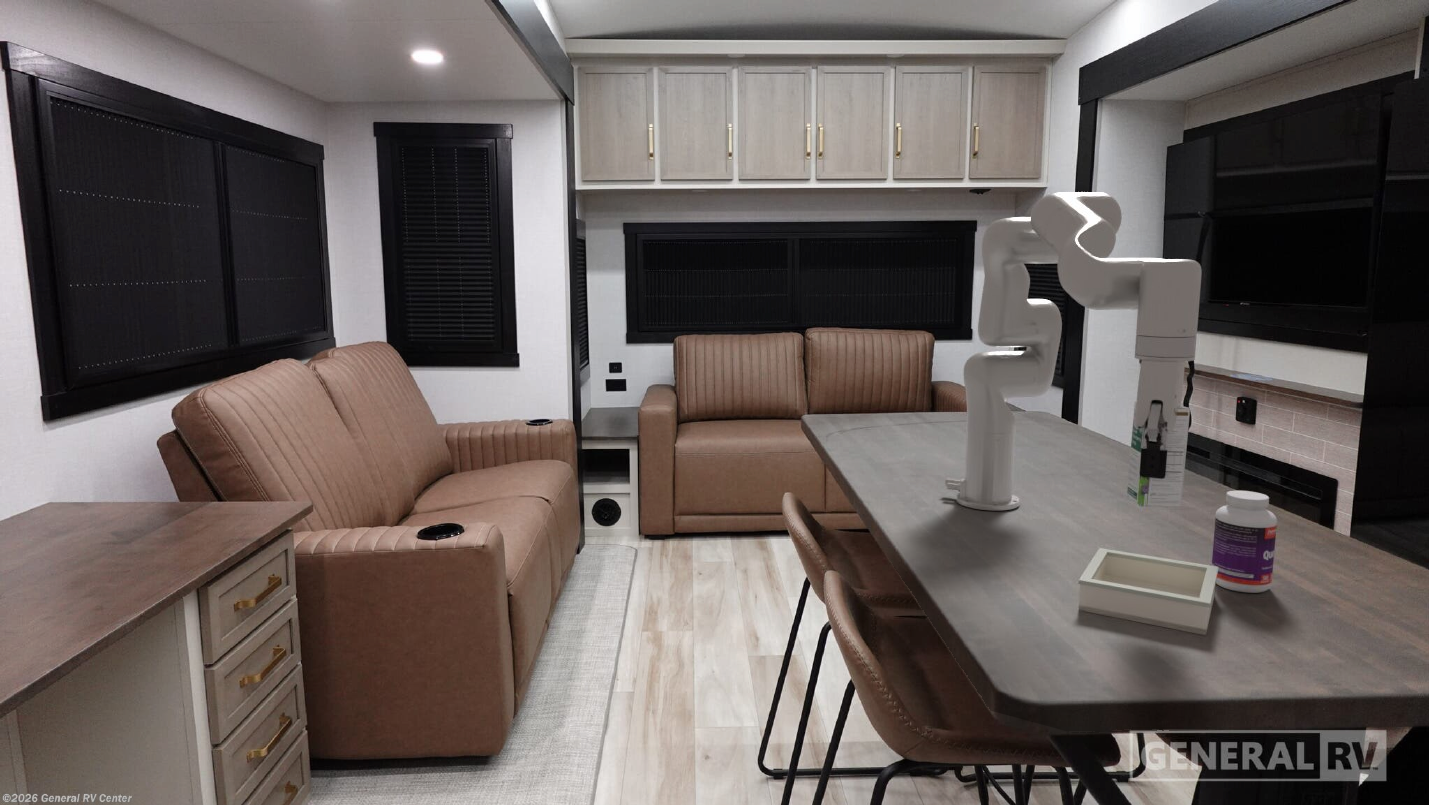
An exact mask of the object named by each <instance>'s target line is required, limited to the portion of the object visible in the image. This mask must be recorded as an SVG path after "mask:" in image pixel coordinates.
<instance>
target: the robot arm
mask: <svg viewBox="0 0 1429 805" xmlns="http://www.w3.org/2000/svg"><path fill="white" fill-rule="evenodd" d="M1122 214H1123V213H1122V209H1121V206H1120V205H1119V203H1118V201H1117V200H1116V199H1115V198H1114V197H1113V196H1112V195H1110V194H1108V193H1105V192H1098V191H1097V192H1094V191H1093V192H1088V191H1087V192H1085V191H1084V192H1083V191H1081V192H1079V191H1078V192H1075V191H1073V192H1071V191H1070V192H1069V191H1068V192H1067V191H1066V192H1063V191H1062V192H1055V193H1050V194H1046V195H1045V196H1043V197H1041V198H1040V199H1039V200H1038V201H1037V202H1036V203H1034V205H1033V207H1032V209H1031V212H1030V216H1018V217H1014V216H1013V217H1006V218H1001V219H997V220H994V221H993V222H992V223H990V224H989V225H988V227H987V228H986V230H985V231H984V234H983V236H982V241H981V257H982V258H981V259H982V263H983V270H984V271H983V274H984V280H983V286H982V293H981V295H982V296H981V299H980V300H981V301H980V310H979V315H978V322H977V323H978V324H977V333H978V337H979V338H978V339H979V340H980V341H981V343H983V345H985V346H988V347H993V348H1026V350H998V351H997V350H993V351H991V350H990V351H983V352H978V353H975V354H973V355H971V356H970V357H969V358H967V360H966V362H965V364H964V366H963V381H964V382H963V383H964V389H965V398H966V433H965V434H966V438H965V463H964V464H965V465H964V466H965V467H964V478H961V479H955V478H949V477H946V479H945V481H944V483H945V484H944V486H945V487H946V489H947V490H952V491H954V490H955V491H957V492H958V493H957V494H956V499H955V500H956V502H957V503H958V504H960V505H961V506H964V507H966V508H968V509H969V508H970V509H973V510H981V511H992V512H993V511H994V512H995V511H996V512H997V511H998V512H999V511H1008V510H1009V511H1010V510H1013V509H1016V508H1018V507H1020V504H1021V500H1020V498H1019V497H1018V496H1017V495H1014V494H1013V488H1014V486H1013V485H1014V484H1013V483H1014V467H1015V466H1014V462H1015V461H1014V460H1015V444H1016V443H1015V441H1016V439H1015V438H1016V419H1015V416H1014V415H1015V414H1014V413H1013V412H1012V410H1011V408H1009V405H1007V403H1006V401H1005V399H1012V398H1035V397H1036V398H1037V397H1041V396H1043V395H1045V394H1046V393H1047V392H1049V390H1050V388H1051V386H1052V383H1053V379H1054V376H1055V369H1056V365H1057V358H1058V352H1059V350H1060V348H1059V347H1060V343H1061V336H1062V329H1063V328H1062V326H1063V322H1062V316H1061V312H1060V310H1059V307H1058V306H1057V305H1056V304H1055V303H1054V302H1053V301H1051V300H1050V299H1049V300H1048V299H1044V298H1029V291H1030V290H1029V289H1030V287H1031V286H1030V285H1031V277H1030V273H1029V272H1028V269H1027V267H1026V265H1025V264H1032V265H1033V264H1035V265H1038V264H1039V265H1041V264H1043V265H1045V264H1046V265H1047V264H1057V275H1058V280H1059V283H1060V285H1061V287H1062V289H1063V290H1064V291H1065V292H1066V293H1067V294H1068V295H1069V296H1070V297H1071V298H1072V299H1073V300H1075V301H1076V303H1078V304H1079V305H1081V306H1083V307H1085V308H1087V309H1091V310H1095V311H1107V310H1108V311H1109V310H1112V311H1114V310H1137V314H1136V316H1137V317H1136V329H1135V330H1136V332H1135V334H1136V335H1135V343H1134V344H1135V346H1134V347H1135V348H1134V349H1135V350H1134V358H1135V359H1136V360H1141V363H1140V364H1141V365H1140V368H1139V375H1138V384H1137V385H1138V386H1137V392H1136V393H1137V394H1136V401H1137V402H1136V412H1135V420H1134V427H1135V428H1136V429H1140V428H1141V427H1143V426H1144V425H1145V431H1144V438H1143V446H1142V448H1141V459H1140V473H1139V474H1140V476H1142V477H1150V478H1159V479H1164V478H1165V475H1166V462H1167V450H1165V446H1166V439H1167V433H1168V432H1169V431H1171V430H1173V429H1174V425H1175V421H1176V417H1177V412H1178V407H1179V406H1180V405H1181V406H1182V400H1183V399H1182V398H1183V391H1184V380H1185V379H1184V378H1185V368H1186V367H1185V366H1186V365H1185V364H1186V362H1191V361H1192V362H1193V361H1195V360H1196V348H1197V332H1198V324H1199V313H1200V312H1199V310H1200V309H1199V308H1200V299H1201V298H1200V297H1201V286H1202V285H1201V284H1202V266H1201V264H1200V263H1199V262H1198V261H1196V260H1195V259H1194V260H1193V259H1187V258H1186V259H1184V258H1183V259H1182V258H1180V259H1179V258H1175V259H1174V258H1173V259H1170V258H1168V259H1165V258H1161V257H1160V258H1158V257H1110V255H1111V254H1112V252H1113V250H1114V249H1115V246H1116V241H1117V236H1116V235H1117V233H1118V231H1119V230H1120V227H1121V224H1122ZM1162 407H1163V411H1162ZM1161 412H1162V414H1161ZM1148 416H1149V421H1148V422H1147V418H1148ZM1145 421H1146V424H1145ZM1159 424H1160V425H1162V426H1164V428H1161V427H1159ZM1161 434H1162V436H1161ZM1161 437H1162V438H1161Z"/></svg>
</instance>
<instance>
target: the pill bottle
mask: <svg viewBox="0 0 1429 805" xmlns="http://www.w3.org/2000/svg"><path fill="white" fill-rule="evenodd" d="M1225 494H1226V495H1225V497H1226V498H1225V500H1226V501H1225V502H1226V503H1227V504H1226V505H1223V506H1220V507H1219V508H1218V509H1217V510H1216V512H1215V514H1214V515H1215V516H1214V518H1215V519H1214V530H1213V534H1214V535H1213V541H1212V542H1213V543H1212V554H1211V556H1212V557H1211V565H1210V566H1217V567H1218V574H1217V578H1216V583H1215V585H1218V586H1220V587H1222V588H1224V589H1226V590H1230V591H1235V592H1240V593H1251V594H1254V593H1255V594H1257V593H1264V592H1266V591H1268V590H1269V589H1271V587H1272V582H1273V571H1274V560H1275V549H1276V539H1277V528H1278V519H1277V517H1276V515H1275V514H1274V513H1273V512H1272V511H1271V510H1268V509H1267V508H1268V507H1269V503H1270V497H1269V496H1268V495H1267V494H1264V493H1260V492H1256V491H1252V490H1251V491H1249V490H1229V491H1227V492H1226V493H1225Z"/></svg>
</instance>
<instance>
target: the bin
mask: <svg viewBox="0 0 1429 805" xmlns="http://www.w3.org/2000/svg"><path fill="white" fill-rule="evenodd" d="M1217 574H1218V567H1217V566H1211V565H1209V564H1203V563H1197V562H1189V561H1184V560H1178V559H1172V558H1167V557H1166V558H1165V557H1161V556H1152V555H1147V554H1139V553H1133V552H1128V551H1127V552H1126V551H1122V550H1114V549H1109V548H1102V547H1099V548H1098V550H1097V551H1096V552H1095V553H1094V556H1093V557H1092V559H1091V560H1090V561H1089V563H1088V565H1087V567H1086V568H1085V570H1084V571H1083V573H1082V574H1081V575H1080V578H1079V579H1078V584H1079V598H1078V599H1079V600H1078V611H1080V612H1086V613H1090V614H1091V613H1092V614H1097V615H1102V616H1107V617H1111V618H1116V619H1120V620H1127V621H1131V622H1137V623H1142V624H1146V625H1147V624H1148V625H1151V626H1157V627H1160V628H1161V627H1163V628H1166V629H1167V628H1168V629H1172V630H1178V631H1182V632H1186V633H1193V634H1198V635H1204V636H1207V633H1208V627H1209V623H1210V619H1211V614H1212V610H1213V609H1212V608H1213V605H1214V601H1215V595H1216V594H1215V593H1216V591H1215V590H1216V578H1217Z"/></svg>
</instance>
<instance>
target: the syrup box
mask: <svg viewBox="0 0 1429 805" xmlns="http://www.w3.org/2000/svg"><path fill="white" fill-rule="evenodd" d="M1136 402H1137V400H1135V401H1134V404H1133V405H1134V408H1133V418H1132V431H1131V441H1130V452H1129V461H1128V462H1129V464H1128V476H1127V486H1126V487H1127V489H1126V497H1127V498H1128V499H1129V498H1130V500H1132V501H1133V502H1134V503H1136V504H1137V505H1138V506H1139V507H1143V508H1181V507H1182V500H1183V499H1182V498H1183V488H1184V479H1185V468H1186V457H1187V456H1186V455H1187V449H1188V448H1187V446H1188V437H1189V436H1188V435H1189V426H1190V425H1189V423H1190V414H1191V408H1190V407H1187V406H1183V405H1182V404H1181V405H1180V406H1179V407H1178V412H1177V417H1176V421H1175V425H1174V429H1173V430H1171V431H1169V432H1168V433H1167V439H1166V446H1165V450H1167V462H1166V475H1165V478H1164V479H1159V478H1150V477H1142V476H1140V474H1139V473H1140V459H1141V448H1142V446H1143V438H1144V431H1145V425H1144V426H1143V427H1141V428H1140V429H1136V428H1135V427H1134V420H1135V412H1136ZM1162 411H1163V407H1162ZM1161 414H1162V412H1161ZM1148 421H1149V416H1148V418H1147V422H1148ZM1145 424H1146V421H1145ZM1159 427H1161V428H1164V426H1162V425H1160V424H1159ZM1161 436H1162V434H1161ZM1161 438H1162V437H1161Z"/></svg>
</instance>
